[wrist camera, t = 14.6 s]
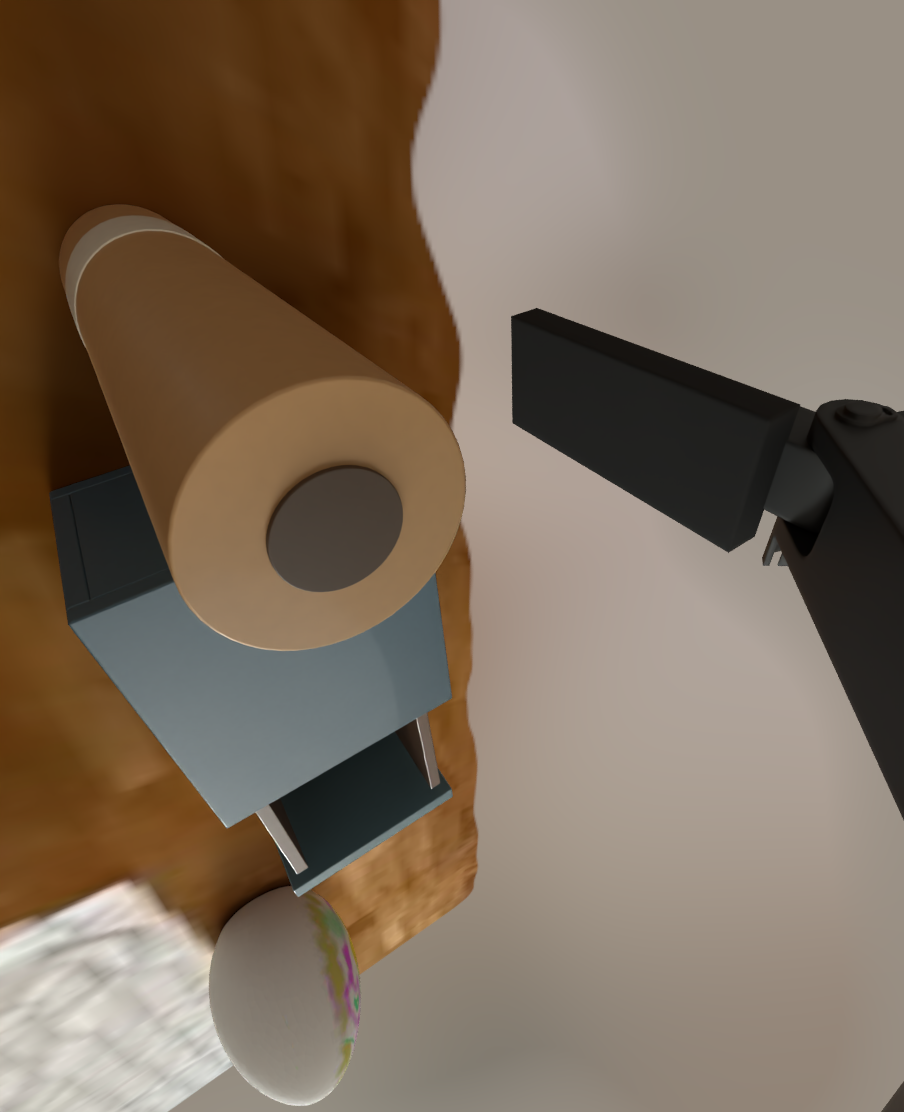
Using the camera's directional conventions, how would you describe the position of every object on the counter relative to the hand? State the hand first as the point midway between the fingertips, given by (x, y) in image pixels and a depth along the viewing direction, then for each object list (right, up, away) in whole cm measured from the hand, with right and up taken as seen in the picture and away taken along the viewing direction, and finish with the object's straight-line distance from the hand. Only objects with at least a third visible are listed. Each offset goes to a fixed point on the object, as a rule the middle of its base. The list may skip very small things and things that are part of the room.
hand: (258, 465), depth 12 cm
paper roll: (-9, +9, +11) cm, 17 cm away
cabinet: (-8, -2, +21) cm, 23 cm away
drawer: (-6, -15, +31) cm, 35 cm away
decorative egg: (-14, -36, +43) cm, 58 cm away
